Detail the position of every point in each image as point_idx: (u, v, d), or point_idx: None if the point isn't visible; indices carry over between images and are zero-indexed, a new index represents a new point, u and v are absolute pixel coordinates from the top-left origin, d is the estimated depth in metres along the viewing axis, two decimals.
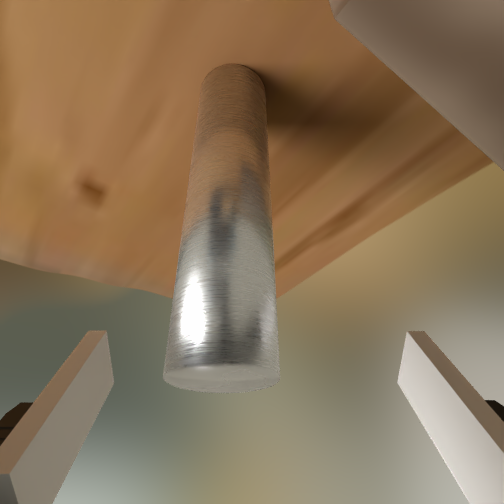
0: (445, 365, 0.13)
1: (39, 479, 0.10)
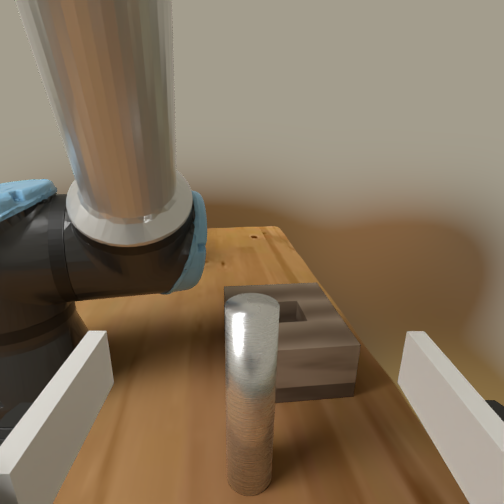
0: (445, 365, 0.13)
1: (39, 479, 0.10)
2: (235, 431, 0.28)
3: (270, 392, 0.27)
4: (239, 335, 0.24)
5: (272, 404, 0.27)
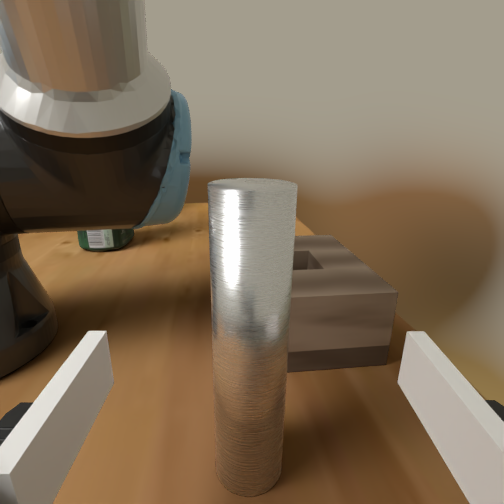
0: (445, 365, 0.13)
1: (39, 479, 0.10)
2: (227, 395, 0.18)
3: (282, 329, 0.17)
4: (230, 223, 0.15)
5: (284, 352, 0.18)
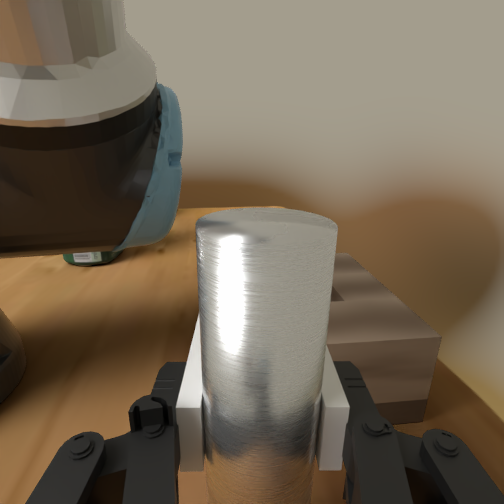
0: None
1: None
2: None
3: (309, 439, 0.11)
4: (231, 293, 0.09)
5: (311, 465, 0.12)
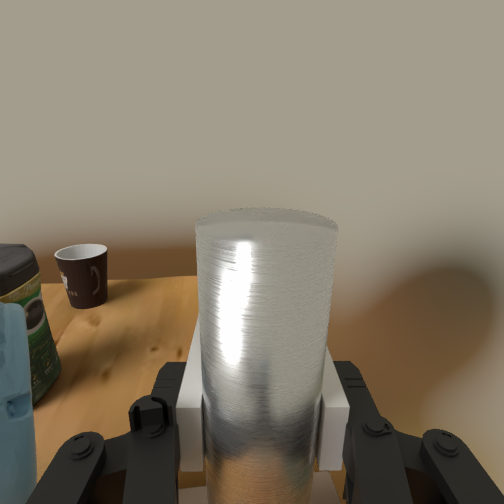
0: None
1: None
2: None
3: (309, 440, 0.11)
4: (232, 293, 0.09)
5: (311, 466, 0.12)
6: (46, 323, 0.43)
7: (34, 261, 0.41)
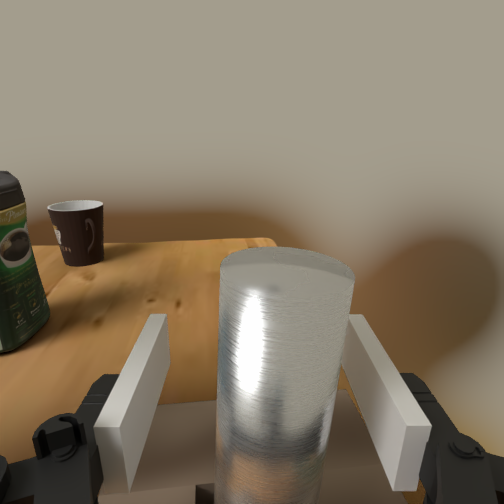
0: (372, 342, 0.14)
1: (133, 437, 0.11)
2: None
3: (318, 473, 0.12)
4: (255, 338, 0.09)
5: (317, 496, 0.12)
6: (32, 260, 0.40)
7: (18, 188, 0.37)
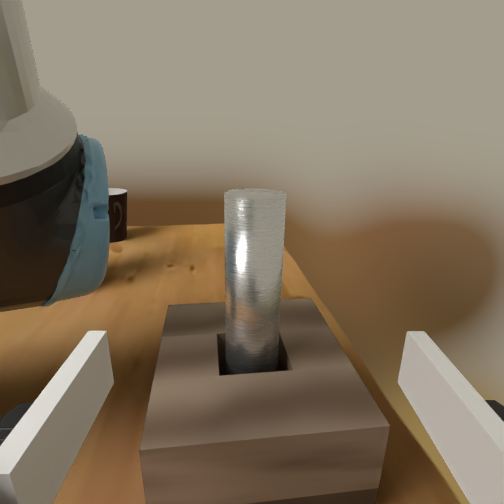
0: (445, 365, 0.13)
1: (39, 479, 0.10)
2: (236, 343, 0.25)
3: (275, 295, 0.24)
4: (240, 220, 0.22)
5: (277, 312, 0.25)
6: None
7: None
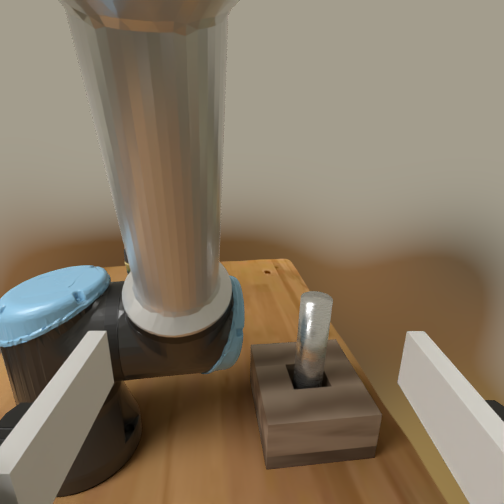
0: (445, 365, 0.13)
1: (39, 479, 0.10)
2: (302, 372, 0.47)
3: (325, 348, 0.46)
4: (311, 314, 0.44)
5: (325, 356, 0.47)
6: None
7: None
